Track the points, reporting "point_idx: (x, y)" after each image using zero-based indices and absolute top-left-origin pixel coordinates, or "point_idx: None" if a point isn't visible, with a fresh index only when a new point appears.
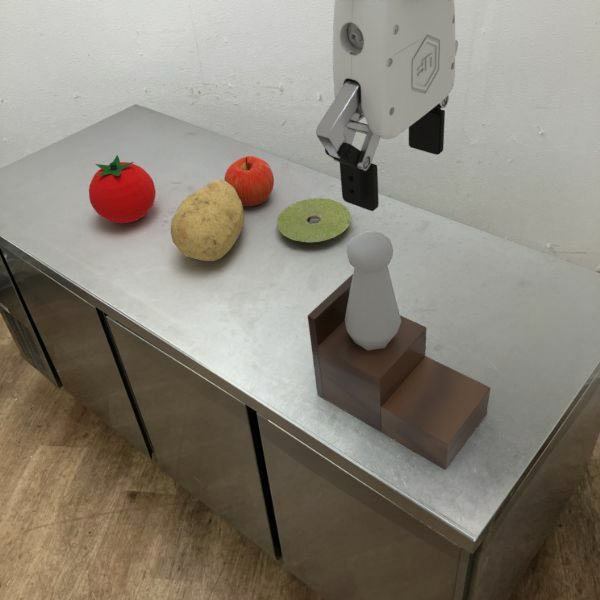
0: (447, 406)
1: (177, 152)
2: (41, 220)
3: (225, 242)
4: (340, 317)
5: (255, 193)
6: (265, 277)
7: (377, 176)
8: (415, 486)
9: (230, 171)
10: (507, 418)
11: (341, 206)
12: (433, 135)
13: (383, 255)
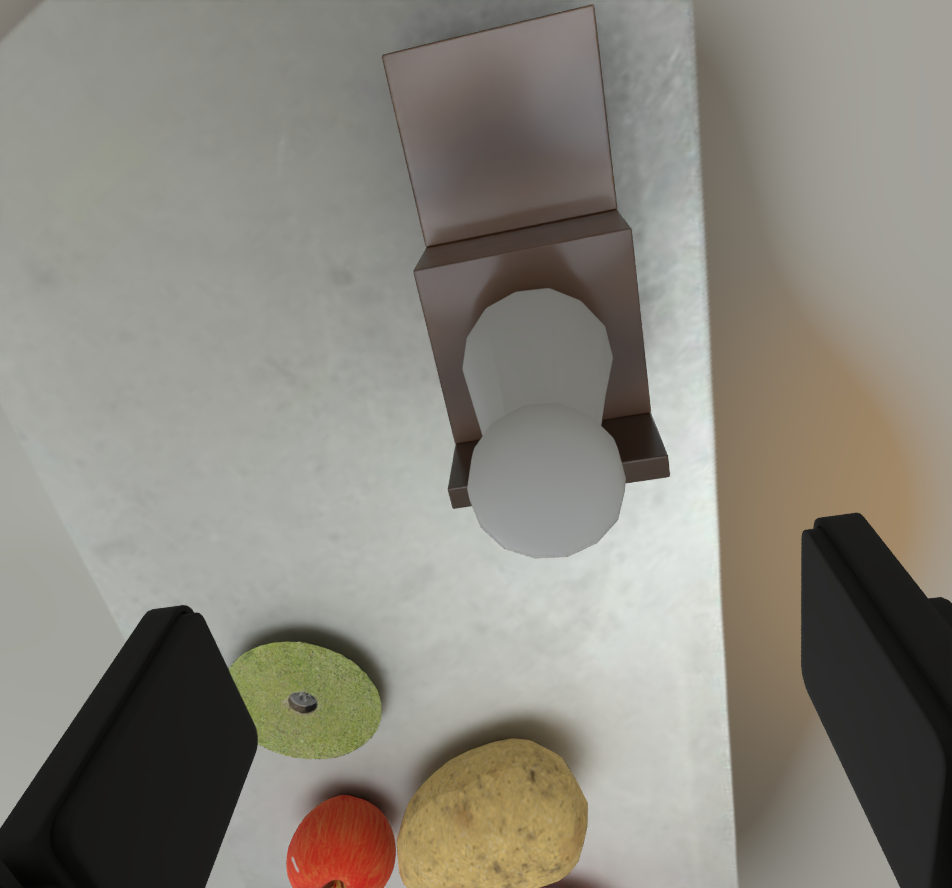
0: (505, 92)
1: None
2: None
3: (506, 763)
4: None
5: (356, 823)
6: (477, 651)
7: (899, 669)
8: (664, 31)
9: None
10: (371, 11)
11: None
12: (160, 717)
13: (557, 427)
